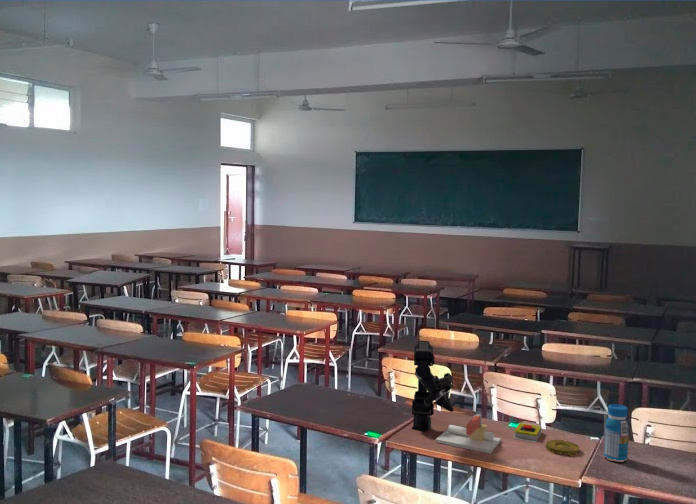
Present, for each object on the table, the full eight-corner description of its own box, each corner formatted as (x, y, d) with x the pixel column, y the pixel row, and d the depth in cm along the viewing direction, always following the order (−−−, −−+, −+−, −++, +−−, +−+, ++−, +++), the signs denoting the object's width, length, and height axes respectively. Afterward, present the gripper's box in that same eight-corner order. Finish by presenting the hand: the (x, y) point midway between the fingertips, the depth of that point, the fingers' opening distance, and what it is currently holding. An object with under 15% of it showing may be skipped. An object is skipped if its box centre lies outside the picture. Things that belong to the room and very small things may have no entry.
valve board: (435, 442, 248) (435, 426, 248) (448, 431, 261) (448, 416, 261) (490, 453, 237) (490, 437, 237) (500, 441, 251) (501, 426, 250)
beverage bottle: (603, 461, 232) (605, 408, 231) (603, 453, 240) (605, 402, 239) (628, 465, 229) (631, 411, 228) (627, 457, 237) (629, 405, 236)
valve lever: (476, 423, 252) (476, 413, 251) (481, 424, 250) (482, 414, 250) (465, 434, 239) (465, 423, 239) (471, 435, 238) (471, 424, 238)
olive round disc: (546, 443, 250) (547, 437, 250) (578, 447, 246) (579, 442, 246) (545, 453, 239) (545, 448, 239) (578, 458, 235) (578, 453, 235)
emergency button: (513, 429, 254) (520, 418, 267) (512, 439, 254) (519, 428, 268) (536, 433, 250) (542, 422, 263) (536, 443, 250) (542, 432, 264)
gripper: (432, 373, 242) (459, 405, 237) (449, 363, 258) (474, 393, 253) (413, 389, 246) (438, 422, 242) (431, 378, 262) (455, 409, 258)
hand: (452, 411), depth 248 cm, fingers closed
